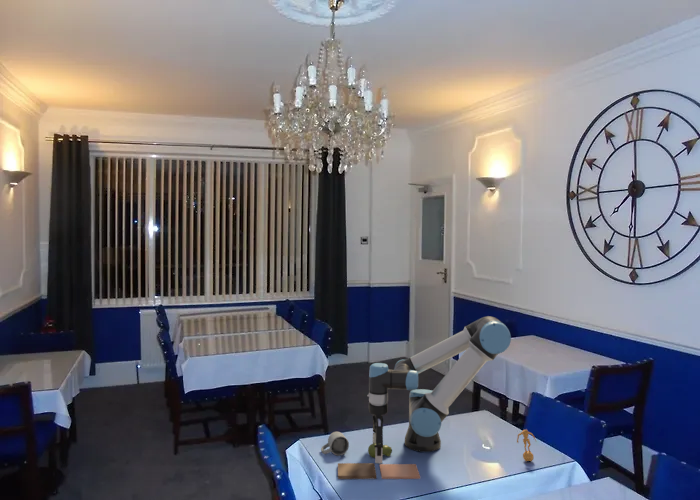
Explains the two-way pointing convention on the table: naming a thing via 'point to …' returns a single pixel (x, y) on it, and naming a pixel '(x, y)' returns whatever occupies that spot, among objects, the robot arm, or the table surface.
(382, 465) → the terracotta tile
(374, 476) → the walnut board
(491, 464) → the table surface
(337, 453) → the ceramic mug
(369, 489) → the table surface
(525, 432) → the figurine
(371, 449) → the green oblong lump
